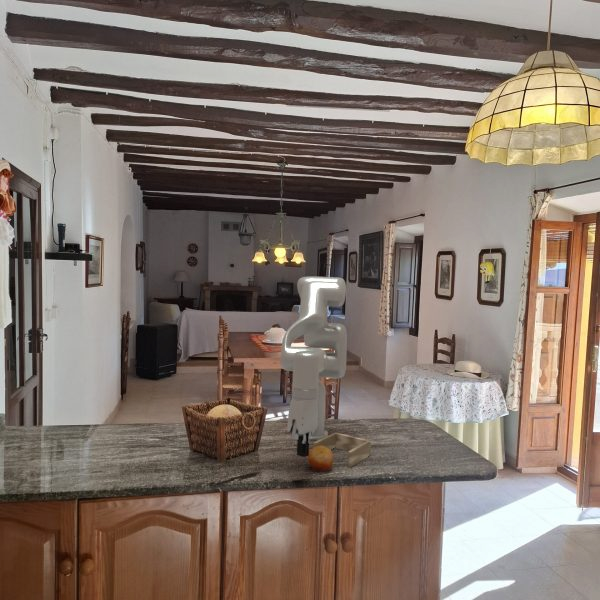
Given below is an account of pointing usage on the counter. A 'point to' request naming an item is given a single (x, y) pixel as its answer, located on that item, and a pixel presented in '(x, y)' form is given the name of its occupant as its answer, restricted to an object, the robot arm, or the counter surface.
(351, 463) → the box
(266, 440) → the counter surface
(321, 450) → the fruit
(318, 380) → the robot arm
